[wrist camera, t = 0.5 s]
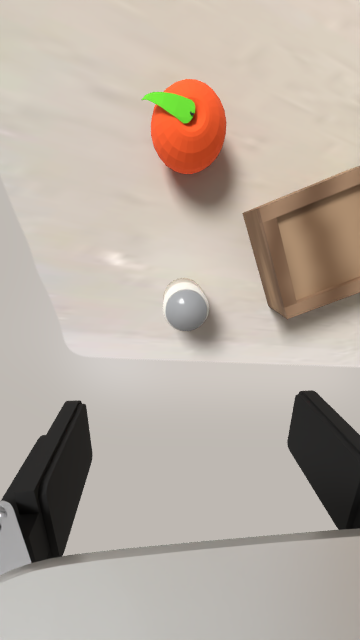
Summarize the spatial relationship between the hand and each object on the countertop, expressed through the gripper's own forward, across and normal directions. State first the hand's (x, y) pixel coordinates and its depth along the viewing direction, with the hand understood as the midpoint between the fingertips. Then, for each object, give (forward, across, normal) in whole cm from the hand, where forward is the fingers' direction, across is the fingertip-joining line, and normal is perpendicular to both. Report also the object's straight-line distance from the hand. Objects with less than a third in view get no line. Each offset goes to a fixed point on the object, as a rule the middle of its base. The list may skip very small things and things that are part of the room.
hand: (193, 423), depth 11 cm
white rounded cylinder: (+22, -2, -1) cm, 22 cm away
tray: (+22, -16, -7) cm, 28 cm away
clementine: (+22, -1, -18) cm, 28 cm away
